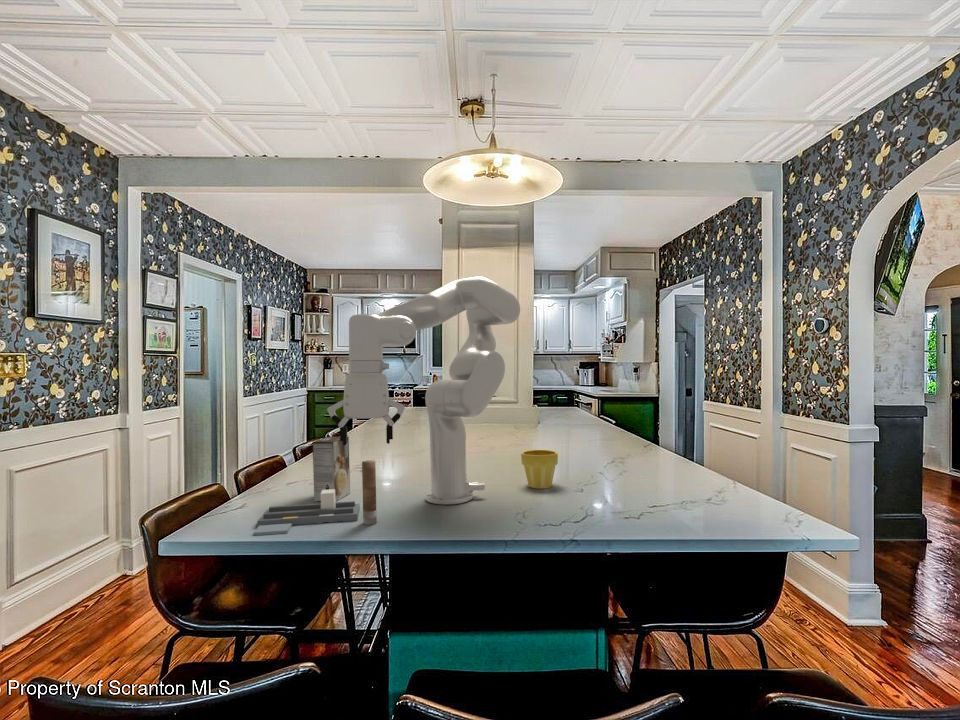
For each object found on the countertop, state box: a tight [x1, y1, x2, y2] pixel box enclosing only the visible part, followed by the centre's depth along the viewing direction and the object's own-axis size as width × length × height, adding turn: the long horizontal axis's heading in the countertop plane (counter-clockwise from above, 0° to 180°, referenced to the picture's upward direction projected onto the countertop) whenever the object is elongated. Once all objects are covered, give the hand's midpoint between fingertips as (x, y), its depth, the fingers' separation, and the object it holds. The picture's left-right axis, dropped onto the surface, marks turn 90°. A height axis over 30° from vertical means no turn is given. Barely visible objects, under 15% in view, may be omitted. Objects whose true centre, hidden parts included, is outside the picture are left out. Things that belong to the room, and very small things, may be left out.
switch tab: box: [320, 489, 337, 509], centre depth 125 cm, size 3×4×4 cm
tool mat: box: [253, 523, 293, 536], centre depth 116 cm, size 7×5×1 cm
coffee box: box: [311, 436, 351, 502], centre depth 143 cm, size 9×6×16 cm
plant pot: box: [520, 449, 559, 490], centre depth 151 cm, size 10×10×10 cm
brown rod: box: [361, 460, 377, 526], centre depth 120 cm, size 3×3×14 cm
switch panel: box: [256, 500, 360, 527], centre depth 125 cm, size 22×9×2 cm, turn 100°
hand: (366, 443), depth 120 cm, fingers open, 9 cm apart
